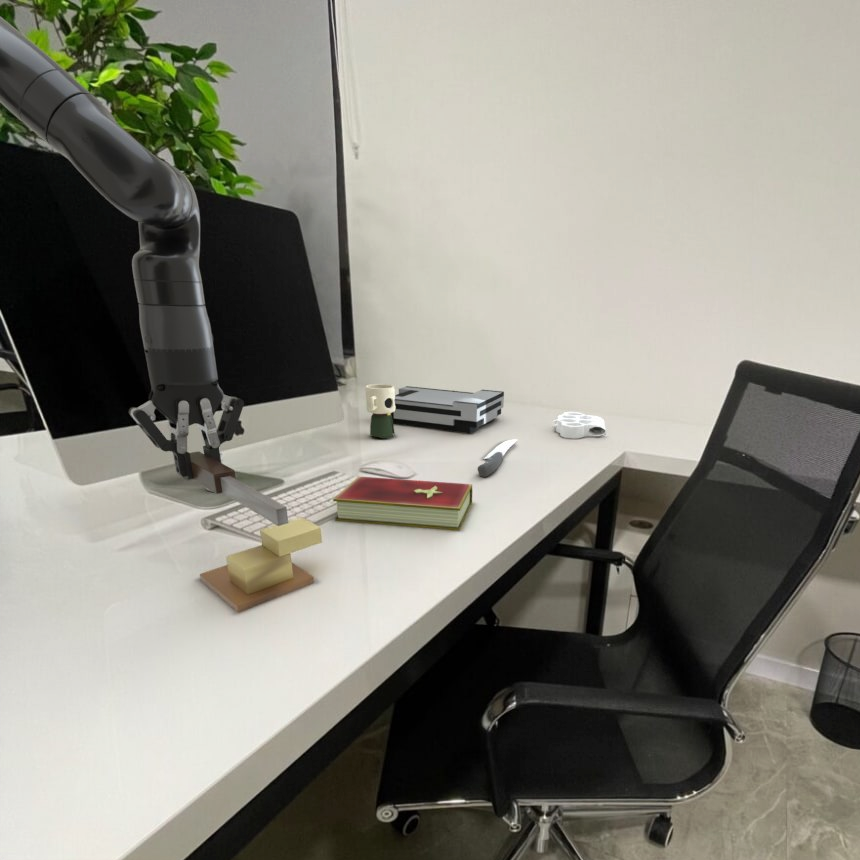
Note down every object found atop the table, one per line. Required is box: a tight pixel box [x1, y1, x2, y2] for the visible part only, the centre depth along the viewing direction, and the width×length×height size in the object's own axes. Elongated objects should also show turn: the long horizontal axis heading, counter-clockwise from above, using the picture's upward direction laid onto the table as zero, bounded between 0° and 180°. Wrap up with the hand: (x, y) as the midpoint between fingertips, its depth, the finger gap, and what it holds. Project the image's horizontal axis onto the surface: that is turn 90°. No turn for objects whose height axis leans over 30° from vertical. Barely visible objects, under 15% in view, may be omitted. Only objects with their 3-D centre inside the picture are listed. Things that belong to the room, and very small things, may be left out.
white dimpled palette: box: [551, 411, 607, 440], centre depth 153 cm, size 3×18×15 cm
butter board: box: [199, 544, 315, 613], centre depth 71 cm, size 10×11×4 cm
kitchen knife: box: [477, 439, 518, 478], centre depth 127 cm, size 29×3×5 cm
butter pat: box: [259, 517, 323, 557], centre depth 73 cm, size 6×5×2 cm
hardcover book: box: [332, 476, 473, 532], centre depth 95 cm, size 12×21×4 cm, turn 83°
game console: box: [391, 385, 505, 434], centre depth 158 cm, size 21×32×8 cm, turn 70°
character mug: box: [365, 383, 396, 439], centre depth 139 cm, size 11×7×13 cm, turn 167°
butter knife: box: [189, 450, 289, 526], centre depth 68 cm, size 3×25×3 cm, turn 48°
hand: (200, 475), depth 74 cm, fingers closed on butter knife, 2 cm apart
